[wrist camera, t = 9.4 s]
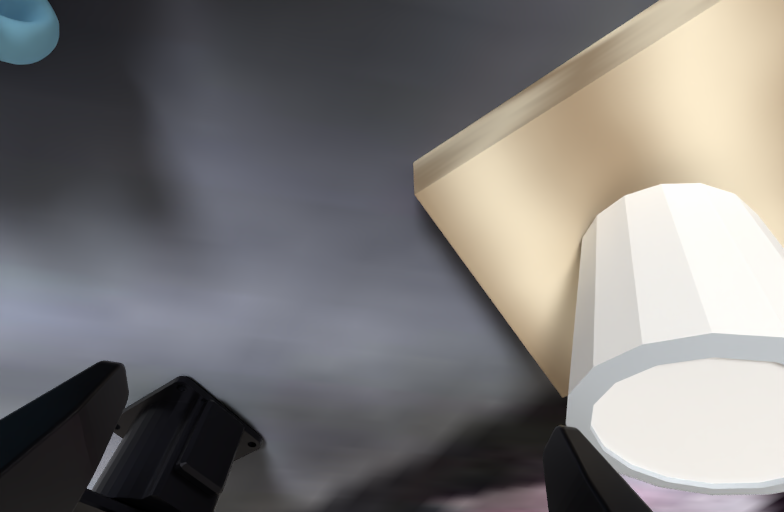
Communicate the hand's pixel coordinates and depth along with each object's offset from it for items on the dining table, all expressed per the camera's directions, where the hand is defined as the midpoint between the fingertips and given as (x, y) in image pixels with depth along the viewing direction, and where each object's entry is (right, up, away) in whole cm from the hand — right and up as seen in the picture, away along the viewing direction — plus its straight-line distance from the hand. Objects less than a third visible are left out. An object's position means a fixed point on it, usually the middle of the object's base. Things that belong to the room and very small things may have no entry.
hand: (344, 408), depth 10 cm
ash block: (+10, +6, +11) cm, 16 cm away
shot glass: (+11, +3, +7) cm, 13 cm away
